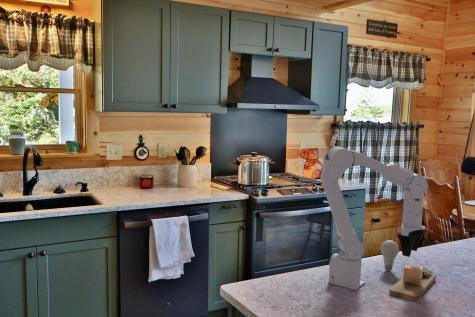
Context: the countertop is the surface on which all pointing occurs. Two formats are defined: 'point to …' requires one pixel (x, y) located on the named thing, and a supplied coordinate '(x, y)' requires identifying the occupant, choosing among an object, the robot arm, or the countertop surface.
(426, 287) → the wooden board
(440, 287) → the countertop surface
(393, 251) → the lightbulb
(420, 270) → the forked latch lever
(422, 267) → the dished metal disc
